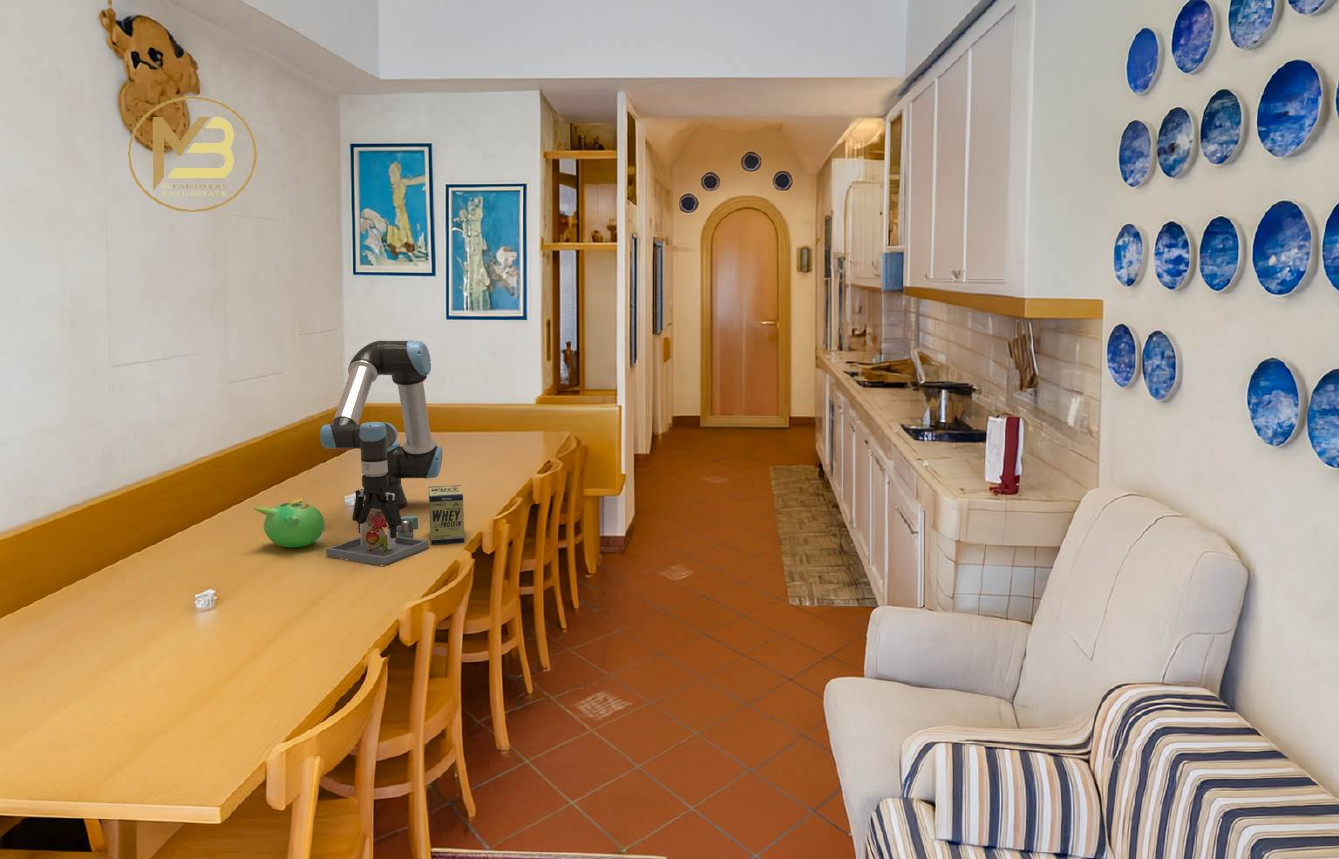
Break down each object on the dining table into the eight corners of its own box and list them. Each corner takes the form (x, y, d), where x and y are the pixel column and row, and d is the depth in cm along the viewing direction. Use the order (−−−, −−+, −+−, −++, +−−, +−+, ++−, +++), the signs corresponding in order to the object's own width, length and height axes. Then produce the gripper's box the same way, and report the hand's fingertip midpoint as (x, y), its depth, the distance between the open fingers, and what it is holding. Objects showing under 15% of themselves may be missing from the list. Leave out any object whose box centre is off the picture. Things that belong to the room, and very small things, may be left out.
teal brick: (390, 530, 314) (390, 518, 313) (413, 526, 319) (413, 515, 318) (394, 533, 311) (394, 521, 310) (418, 529, 315) (417, 517, 315)
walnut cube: (373, 522, 323) (372, 508, 322) (384, 524, 321) (384, 509, 320) (362, 526, 319) (362, 511, 318) (374, 527, 317) (373, 513, 316)
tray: (373, 540, 301) (372, 532, 301) (428, 548, 292) (428, 540, 292) (326, 556, 283) (326, 548, 283) (384, 566, 274) (384, 558, 274)
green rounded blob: (336, 542, 299) (333, 497, 296) (299, 557, 283) (296, 509, 281) (289, 537, 304) (287, 492, 302) (251, 551, 289) (247, 504, 286)
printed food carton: (367, 560, 285) (393, 548, 284) (350, 527, 284) (377, 515, 283) (374, 554, 291) (400, 543, 290) (358, 522, 290) (384, 510, 289)
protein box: (431, 545, 296) (429, 496, 294) (429, 532, 311) (428, 486, 309) (465, 542, 299) (463, 494, 297) (462, 530, 314) (460, 484, 311)
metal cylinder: (404, 536, 306) (403, 517, 306) (416, 537, 304) (416, 519, 303) (394, 539, 302) (393, 521, 301) (406, 541, 300) (405, 523, 299)
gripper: (337, 473, 285) (340, 544, 288) (395, 479, 276) (399, 553, 279) (354, 468, 292) (358, 538, 295) (412, 475, 283) (415, 547, 286)
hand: (378, 546), depth 287 cm, fingers open, 10 cm apart
